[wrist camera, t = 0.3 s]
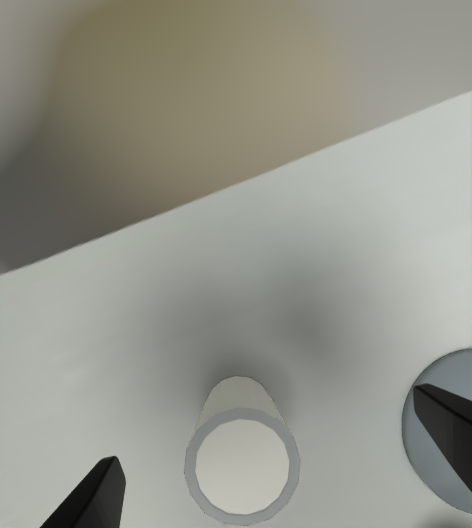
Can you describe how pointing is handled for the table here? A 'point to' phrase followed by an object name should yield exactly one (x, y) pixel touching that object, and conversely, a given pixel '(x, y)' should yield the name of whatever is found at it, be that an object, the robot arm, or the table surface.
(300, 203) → the table surface
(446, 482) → the slate dish
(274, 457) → the white cup
